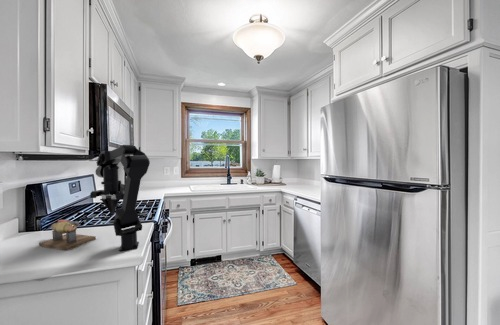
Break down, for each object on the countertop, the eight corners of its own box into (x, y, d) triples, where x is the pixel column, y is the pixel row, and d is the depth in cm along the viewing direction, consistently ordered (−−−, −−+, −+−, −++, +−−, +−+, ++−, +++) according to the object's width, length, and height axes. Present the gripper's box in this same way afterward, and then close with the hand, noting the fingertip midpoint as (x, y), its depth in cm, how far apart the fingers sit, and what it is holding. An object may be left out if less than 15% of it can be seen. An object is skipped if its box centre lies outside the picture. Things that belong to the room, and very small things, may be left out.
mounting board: (95, 239, 101) (95, 236, 101) (67, 250, 90) (67, 247, 90) (69, 235, 106) (69, 233, 106) (39, 246, 95) (39, 243, 94)
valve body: (83, 238, 99) (82, 220, 98) (67, 244, 93) (66, 224, 92) (65, 236, 102) (64, 218, 101) (48, 242, 96) (47, 222, 95)
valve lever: (79, 221, 101) (61, 219, 105) (75, 222, 100) (57, 220, 103) (79, 225, 101) (61, 224, 105) (76, 227, 100) (58, 225, 103)
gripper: (141, 177, 107) (142, 210, 108) (110, 176, 112) (111, 207, 113) (122, 180, 96) (123, 216, 97) (88, 179, 101) (90, 213, 102)
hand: (112, 213), depth 103 cm, fingers closed
